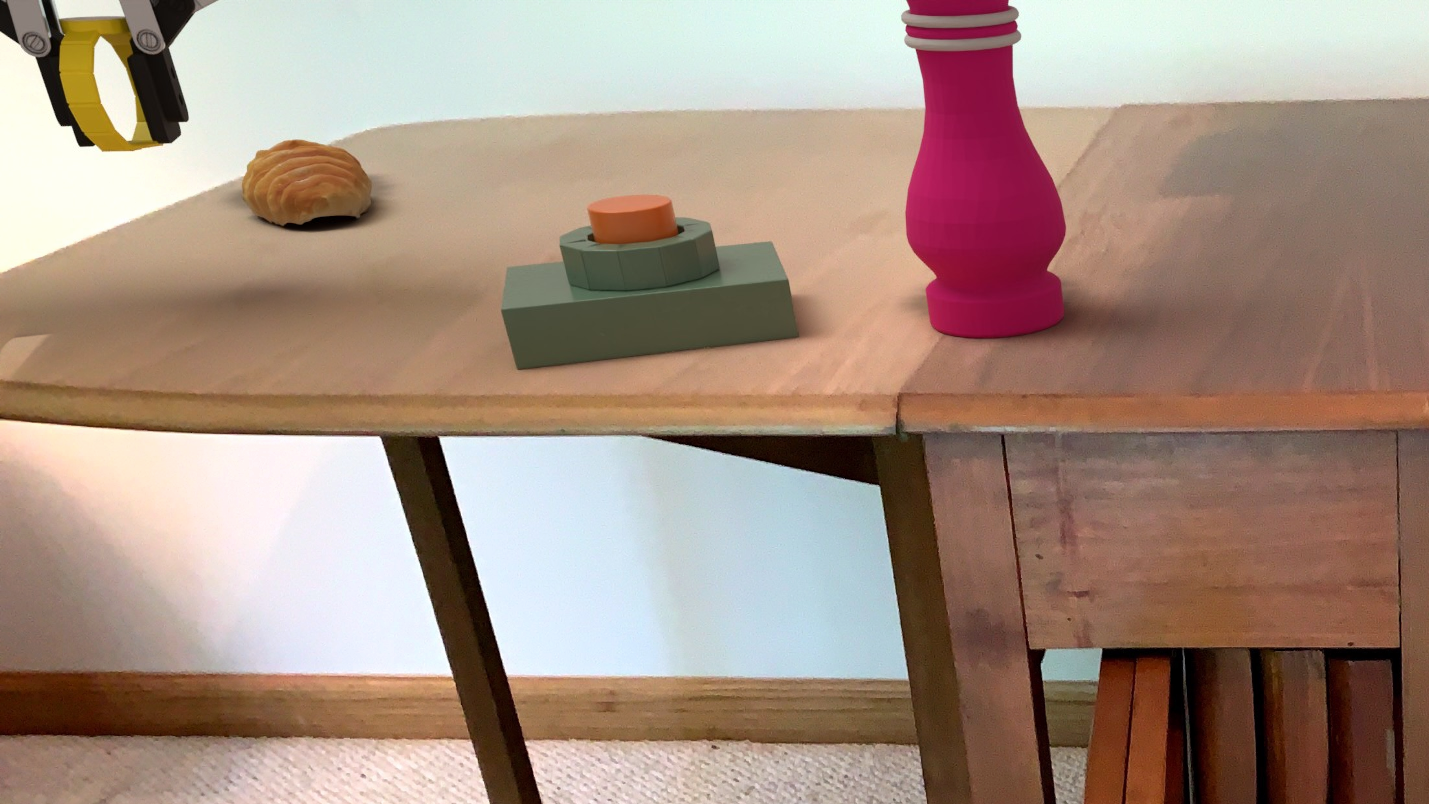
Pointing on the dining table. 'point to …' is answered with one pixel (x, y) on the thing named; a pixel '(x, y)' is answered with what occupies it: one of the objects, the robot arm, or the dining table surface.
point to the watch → (83, 85)
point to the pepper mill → (979, 178)
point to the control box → (645, 298)
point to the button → (632, 219)
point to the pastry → (305, 183)
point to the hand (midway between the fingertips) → (130, 137)
